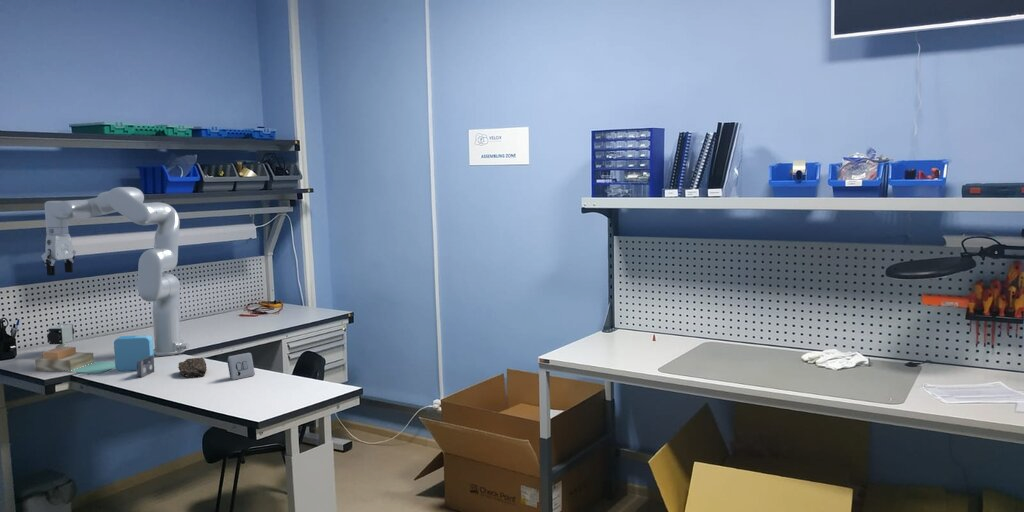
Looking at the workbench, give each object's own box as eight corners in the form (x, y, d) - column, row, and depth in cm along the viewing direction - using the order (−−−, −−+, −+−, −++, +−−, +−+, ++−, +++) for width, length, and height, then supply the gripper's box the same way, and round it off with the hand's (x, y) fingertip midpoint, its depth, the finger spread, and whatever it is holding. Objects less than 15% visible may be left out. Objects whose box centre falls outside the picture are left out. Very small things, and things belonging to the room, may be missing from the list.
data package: (154, 366, 271) (152, 334, 270) (150, 369, 266) (149, 337, 265) (119, 368, 269) (117, 336, 267) (115, 371, 264) (113, 338, 263)
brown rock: (181, 371, 265) (180, 357, 264) (210, 369, 267) (210, 355, 267) (174, 379, 254) (173, 365, 253) (205, 377, 256) (204, 363, 255)
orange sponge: (75, 353, 275) (75, 346, 275) (58, 359, 266) (57, 352, 266) (61, 352, 276) (60, 346, 276) (43, 358, 267) (42, 352, 267)
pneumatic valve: (76, 349, 298) (74, 320, 297) (60, 356, 287) (58, 326, 285) (62, 350, 298) (60, 321, 297) (46, 357, 286) (43, 326, 285)
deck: (93, 363, 276) (93, 352, 276) (70, 371, 264) (70, 360, 264) (60, 362, 278) (59, 351, 278) (35, 370, 266) (35, 359, 266)
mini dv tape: (150, 371, 264) (149, 355, 263) (154, 371, 264) (153, 355, 263) (137, 378, 256) (136, 361, 255) (141, 378, 255) (140, 361, 255)
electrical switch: (232, 380, 251) (230, 356, 251) (226, 379, 255) (224, 356, 254) (255, 376, 258) (253, 352, 257) (249, 374, 261) (247, 351, 260)
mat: (127, 363, 276) (126, 362, 276) (99, 373, 261) (99, 372, 261) (97, 362, 278) (97, 361, 278) (69, 372, 263) (69, 371, 263)
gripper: (49, 233, 284) (52, 276, 286) (81, 230, 301) (84, 271, 303) (32, 233, 285) (35, 276, 287) (64, 230, 302) (67, 271, 304)
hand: (60, 273), depth 295 cm, fingers open, 9 cm apart
